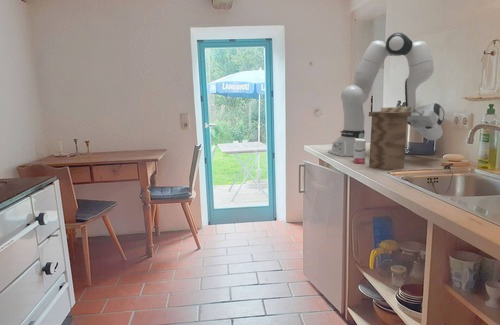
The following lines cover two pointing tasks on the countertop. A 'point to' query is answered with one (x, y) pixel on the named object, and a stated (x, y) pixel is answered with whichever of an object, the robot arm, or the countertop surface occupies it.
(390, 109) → the stick
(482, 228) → the countertop surface
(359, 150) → the ink box
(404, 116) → the wooden canister
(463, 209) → the countertop surface
